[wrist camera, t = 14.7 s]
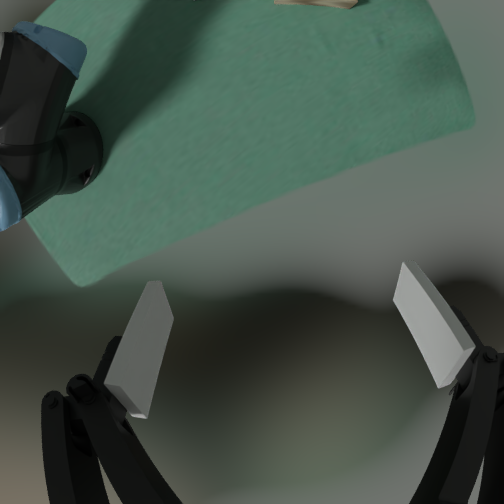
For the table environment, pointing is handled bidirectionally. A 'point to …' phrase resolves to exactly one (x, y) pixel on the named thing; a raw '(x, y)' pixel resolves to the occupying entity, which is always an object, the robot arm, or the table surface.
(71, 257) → the table surface
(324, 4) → the beech tray
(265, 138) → the table surface
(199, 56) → the table surface
